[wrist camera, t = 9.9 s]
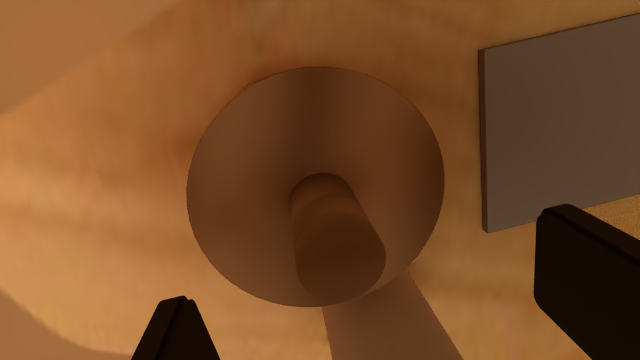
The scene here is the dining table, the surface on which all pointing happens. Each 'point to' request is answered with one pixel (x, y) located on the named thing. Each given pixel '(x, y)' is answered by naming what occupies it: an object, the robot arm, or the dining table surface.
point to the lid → (315, 187)
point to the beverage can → (388, 326)
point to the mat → (560, 121)
